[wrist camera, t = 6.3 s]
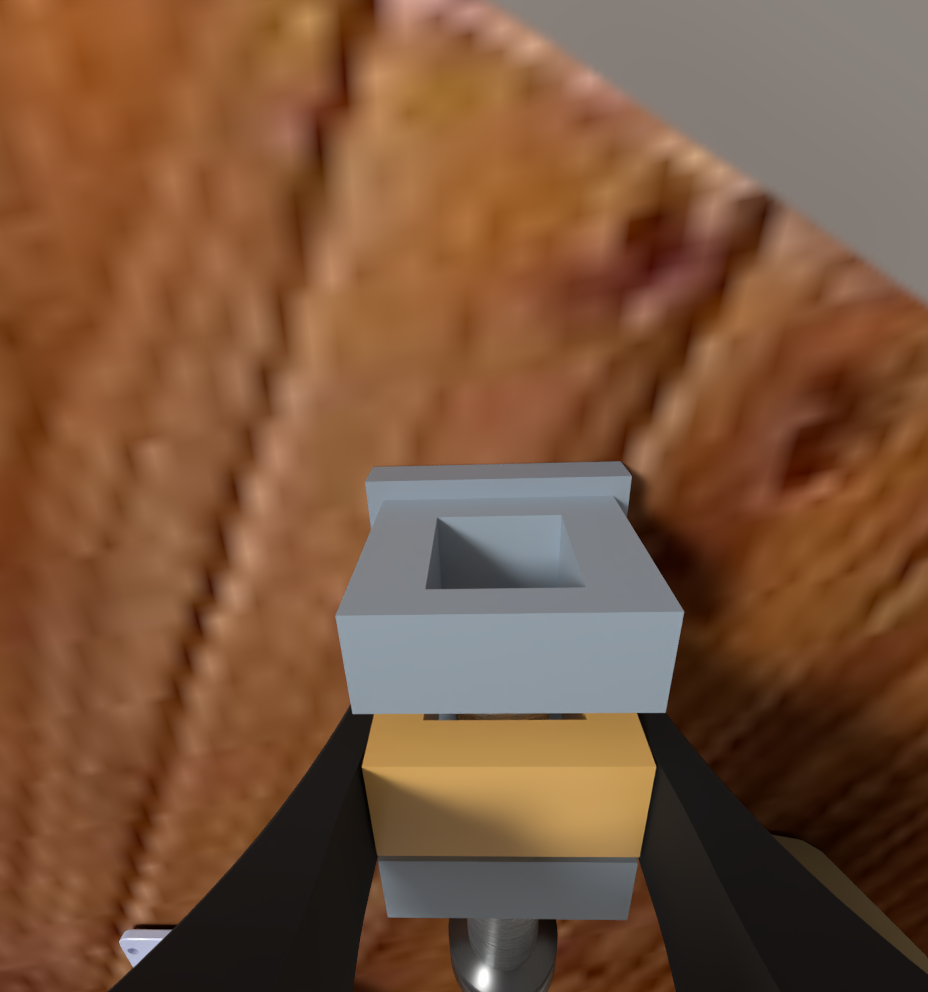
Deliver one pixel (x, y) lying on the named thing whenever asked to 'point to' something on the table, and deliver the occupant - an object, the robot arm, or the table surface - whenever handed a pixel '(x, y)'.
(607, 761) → the block
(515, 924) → the shaft
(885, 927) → the squeeze bottle
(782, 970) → the robot arm
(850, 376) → the table surface
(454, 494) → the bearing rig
